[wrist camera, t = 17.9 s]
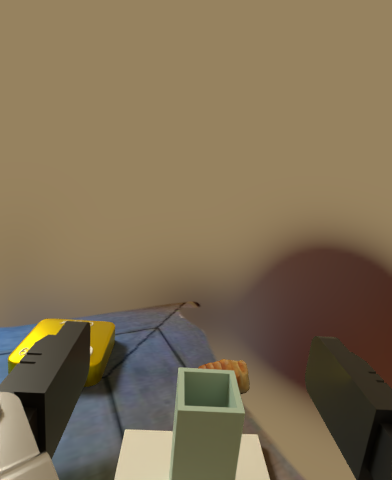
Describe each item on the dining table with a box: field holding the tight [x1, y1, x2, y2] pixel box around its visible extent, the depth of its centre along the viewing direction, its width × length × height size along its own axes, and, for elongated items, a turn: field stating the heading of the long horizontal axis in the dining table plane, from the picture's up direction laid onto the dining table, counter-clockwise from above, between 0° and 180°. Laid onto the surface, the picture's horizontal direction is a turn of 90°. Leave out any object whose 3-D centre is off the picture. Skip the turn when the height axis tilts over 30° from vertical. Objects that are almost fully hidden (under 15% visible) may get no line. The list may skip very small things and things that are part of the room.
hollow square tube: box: [169, 368, 245, 480], centre depth 33 cm, size 8×6×14 cm
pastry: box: [198, 359, 249, 394], centre depth 55 cm, size 9×7×4 cm
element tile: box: [8, 319, 115, 387], centre depth 58 cm, size 15×15×5 cm
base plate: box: [114, 429, 270, 480], centre depth 33 cm, size 18×18×9 cm
